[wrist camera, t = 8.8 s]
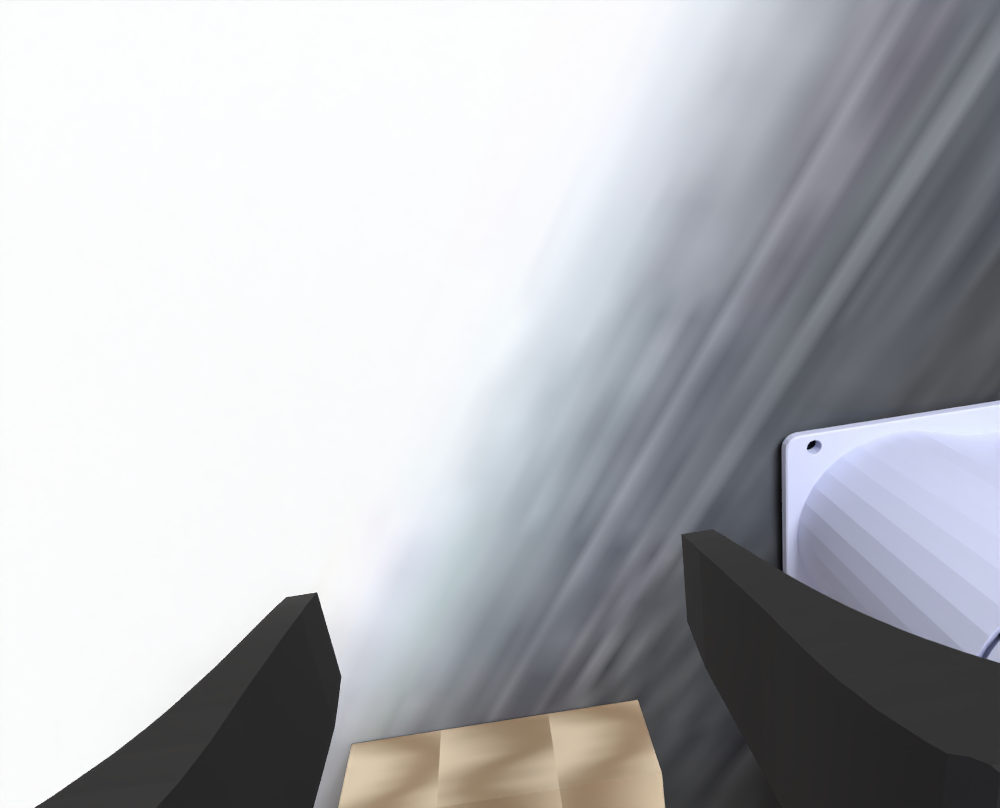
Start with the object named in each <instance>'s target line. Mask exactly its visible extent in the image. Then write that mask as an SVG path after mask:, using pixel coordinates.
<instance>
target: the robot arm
mask: <svg viewBox="0 0 1000 808" xmlns="http://www.w3.org/2000/svg"><path fill="white" fill-rule="evenodd" d="M813 440H816V444H815V446H814V447H813V448H812V449H809V450H807V446H808V444H809V443H810V442H811V441H813ZM782 536H783V572H782V571H781V570H779V569H777V568H775V567H774V566H772V565H770V564H769V563H767V562H765V561H764V560H762V559H761V558H759V557H757V556H756V555H754V554H752V553H751V552H749V551H748V550H746V549H744V548H743V547H741V546H739V545H738V544H736V543H735V542H733V541H731V540H730V539H728V538H726V537H725V536H723V535H721V534H720V533H718V532H716V531H714V530H713V529H712V530H706V531H700V532H693V533H687V534H682V548H683V563H684V578H685V593H686V608H687V622H688V624H689V627H690V630H691V632H692V635H693V637H694V640H695V642H696V645H697V648H698V650H699V652H700V655H701V657H702V660H703V662H704V665H705V667H706V669H707V671H708V673H709V675H710V677H711V679H712V680H713V682H714V684H715V686H716V688H717V690H718V691H719V693H720V695H721V697H722V699H723V701H724V702H725V704H726V706H727V708H728V710H729V711H730V713H731V715H732V717H733V719H734V720H735V722H736V724H737V726H738V728H739V729H740V731H741V733H742V735H743V737H744V738H745V740H746V742H747V744H748V746H749V747H750V749H751V751H752V753H753V755H754V756H755V758H756V760H757V762H758V764H759V765H760V767H761V769H762V771H763V773H764V775H765V777H766V779H767V780H768V782H769V784H770V786H771V788H772V790H773V792H774V794H775V796H776V798H777V801H778V803H779V805H780V807H781V808H1000V401H994V402H987V403H981V404H975V405H968V406H962V407H956V408H949V409H943V410H937V411H930V412H924V413H917V414H911V415H905V416H898V417H892V418H886V419H879V420H873V421H866V422H860V423H854V424H847V425H841V426H835V427H828V428H822V429H816V430H809V431H803V432H796V433H793V434H790V435H789V436H788V437H786V438H785V440H784V441H783V443H782ZM340 683H341V674H340V671H339V667H338V664H337V660H336V657H335V653H334V650H333V646H332V643H331V639H330V636H329V632H328V629H327V625H326V622H325V618H324V615H323V611H322V608H321V604H320V601H319V597H318V594H317V593H310V594H304V595H298V596H292V597H286V598H285V599H284V600H283V601H282V602H281V603H279V604H278V605H277V606H276V607H275V608H274V609H273V610H272V611H271V612H270V613H269V614H268V615H267V616H266V617H265V618H264V619H263V620H262V621H261V622H260V623H259V624H258V625H257V626H256V627H255V628H254V629H253V630H252V631H251V632H250V633H249V634H248V635H247V636H246V637H245V638H244V639H243V640H242V641H241V642H240V643H239V644H238V645H237V646H236V647H235V648H234V649H233V650H232V651H231V652H230V653H229V654H228V655H227V656H226V657H225V658H224V659H223V660H222V661H221V662H220V663H219V664H218V665H217V666H216V667H215V668H214V669H213V670H211V671H210V672H209V673H208V674H207V675H206V676H205V677H204V678H203V679H202V680H201V681H199V682H198V683H197V684H196V685H195V686H194V687H193V688H192V689H191V690H190V691H189V692H187V693H186V694H185V695H184V696H183V697H182V698H181V699H180V700H179V701H178V702H177V703H175V704H174V705H173V706H172V707H171V708H170V709H169V710H167V711H166V712H165V713H164V714H163V715H162V716H160V717H159V718H158V719H157V720H156V721H154V722H153V723H152V724H151V725H150V726H148V727H147V728H146V729H145V730H143V731H142V732H141V733H139V734H138V735H137V736H136V737H134V738H133V739H132V740H131V741H129V742H128V743H127V744H125V745H124V746H123V747H122V748H120V749H119V750H118V751H116V752H115V753H114V754H112V755H111V756H110V757H108V758H107V759H105V760H104V761H103V762H101V763H100V764H98V765H97V766H95V767H94V768H92V769H91V770H90V771H88V772H87V773H85V774H84V775H82V776H81V777H80V778H78V779H77V780H75V781H74V782H72V783H71V784H69V785H68V786H67V787H65V788H64V789H62V790H61V791H59V792H58V793H57V794H55V795H54V796H52V797H51V798H49V799H47V800H46V801H44V802H43V803H41V804H40V805H38V806H36V807H35V808H313V807H314V803H315V799H316V795H317V792H318V788H319V784H320V781H321V777H322V773H323V770H324V766H325V762H326V758H327V755H328V751H329V747H330V743H331V739H332V735H333V731H334V727H335V721H336V714H337V707H338V699H339V691H340Z"/></svg>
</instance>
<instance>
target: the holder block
mask: <svg viewBox="0 0 1000 808" xmlns="http://www.w3.org/2000/svg"><path fill="white" fill-rule="evenodd" d="M338 808H665V803H664V792H663V781H662V772H661V769H660V766H659V763H658V760H657V757H656V754H655V751H654V748H653V745H652V742H651V739H650V736H649V733H648V730H647V727H646V724H645V721H644V717H643V714H642V711H641V708H640V705H639V702H638V700H633V701H627V702H620V703H614V704H608V705H601V706H595V707H588V708H582V709H575V710H569V711H562V712H556V713H549V714H543V715H537V716H530V717H524V718H517V719H511V720H504V721H498V722H491V723H485V724H478V725H472V726H465V727H459V728H453V729H446V730H440V731H433V732H427V733H420V734H414V735H407V736H401V737H394V738H388V739H382V740H375V741H369V742H362V743H356V744H352V746H351V750H350V755H349V760H348V764H347V769H346V774H345V778H344V783H343V788H342V792H341V797H340V802H339V806H338Z"/></svg>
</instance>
